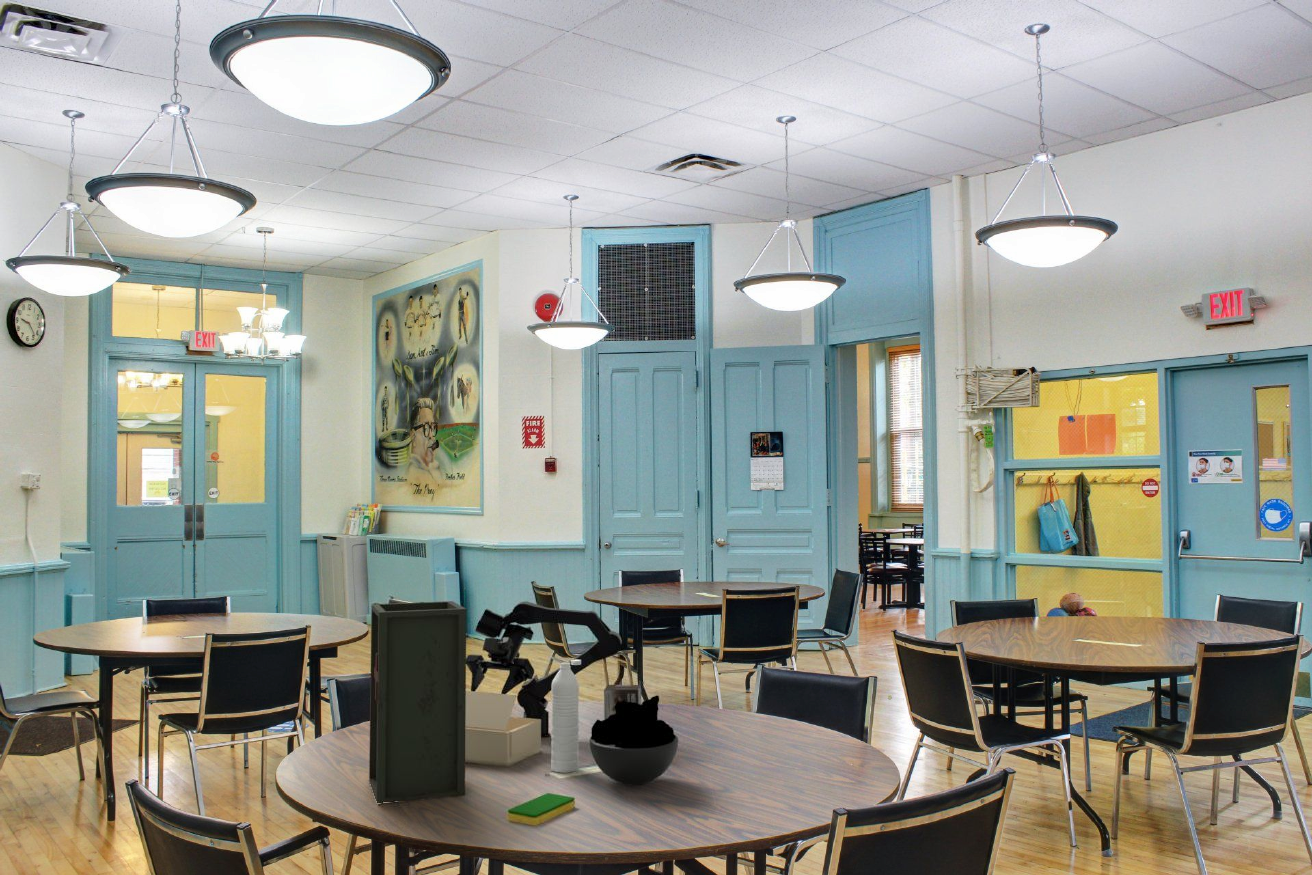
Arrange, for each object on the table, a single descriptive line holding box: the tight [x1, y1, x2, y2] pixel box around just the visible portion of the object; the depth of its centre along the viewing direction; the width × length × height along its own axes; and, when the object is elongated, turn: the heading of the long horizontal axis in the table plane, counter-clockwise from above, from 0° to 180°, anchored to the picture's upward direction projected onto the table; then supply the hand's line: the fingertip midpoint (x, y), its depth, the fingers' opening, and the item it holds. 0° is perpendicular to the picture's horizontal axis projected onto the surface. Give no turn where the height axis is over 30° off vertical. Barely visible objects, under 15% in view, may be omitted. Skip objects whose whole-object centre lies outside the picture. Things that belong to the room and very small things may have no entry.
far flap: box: [465, 690, 518, 731], centre depth 250 cm, size 9×19×1 cm
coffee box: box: [603, 684, 642, 720], centre depth 259 cm, size 9×6×16 cm
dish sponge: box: [507, 792, 576, 826], centre depth 207 cm, size 7×14×2 cm, turn 150°
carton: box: [465, 716, 542, 768], centre depth 255 cm, size 16×21×8 cm
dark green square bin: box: [368, 600, 467, 804], centre depth 226 cm, size 18×18×40 cm
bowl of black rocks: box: [589, 694, 679, 786], centre depth 229 cm, size 20×20×19 cm
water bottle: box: [550, 659, 581, 774], centre depth 242 cm, size 9×6×25 cm
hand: (487, 693), depth 264 cm, fingers open, 9 cm apart
